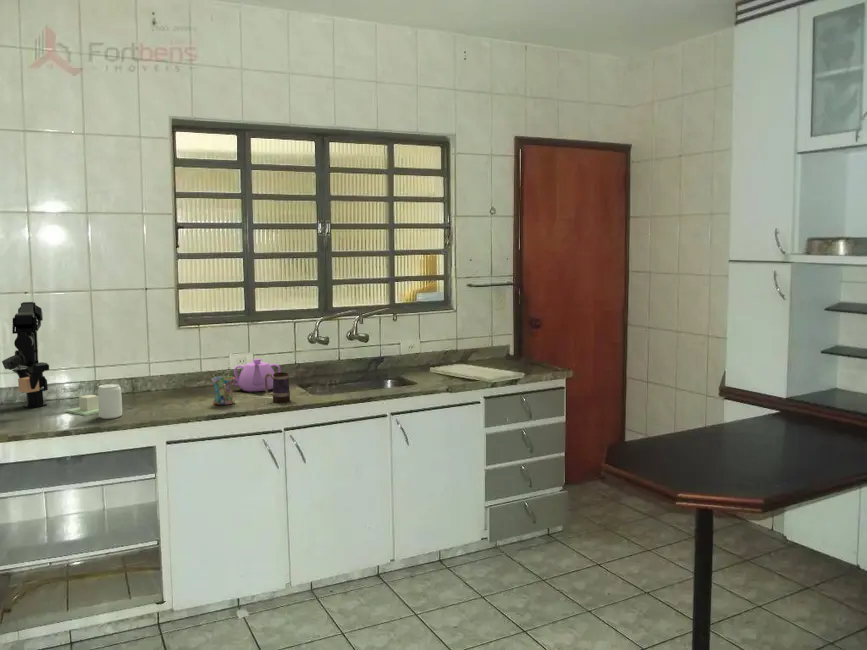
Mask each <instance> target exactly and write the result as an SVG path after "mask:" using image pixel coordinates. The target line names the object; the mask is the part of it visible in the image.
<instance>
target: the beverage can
mask: <svg viewBox="0 0 867 650" xmlns="http://www.w3.org/2000/svg"><path fill="white" fill-rule="evenodd" d="M97 396H98V407H99V413H98V417H99V418H100V419H104V420H109V419H111V420H112V419H116V418H117V419H118V418H120V417H121V416H122V415H123V402H122V401H123V400H122V388H121V386H120V384H119V383H108V384H106V383H105V384H101V385H98V388H97Z"/></svg>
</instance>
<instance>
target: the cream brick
mask: <svg viewBox="0 0 867 650" xmlns="http://www.w3.org/2000/svg"><path fill="white" fill-rule="evenodd" d="M78 399H79V402H78V404H79V407H80V410H85V411H90V410H94V409H99V407H98V395H96V394H87V395H81V396H79V397H78Z"/></svg>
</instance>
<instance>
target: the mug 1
mask: <svg viewBox="0 0 867 650" xmlns="http://www.w3.org/2000/svg"><path fill="white" fill-rule="evenodd" d="M235 379H236V377H234V376H230V375H228V376H227V375H223V376H222V375H220V376H215V377H212V378H211V382H212V384H213V386H214V392H215V394H214V399H213V404H215V405H216V406H217V405H218V406H227V405H231V404H234V403H235V401H236V400H235V399H234V395H233V387H234V385H233V383H234V382H235V381H234V380H235Z"/></svg>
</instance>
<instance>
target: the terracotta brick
mask: <svg viewBox="0 0 867 650" xmlns="http://www.w3.org/2000/svg"><path fill="white" fill-rule="evenodd" d="M17 383H18V392H20V393H22V392H24V393H23V394H26V393H29V392H35V391H40V390H39V381H38V383H37V385H36V387H35V389H31V385H30V379H29V377H25V378H19V377H18V379H17Z"/></svg>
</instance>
